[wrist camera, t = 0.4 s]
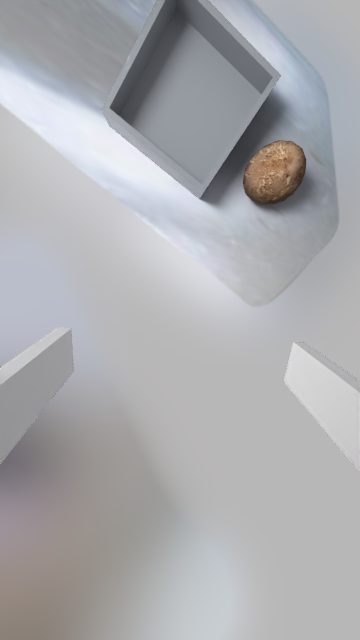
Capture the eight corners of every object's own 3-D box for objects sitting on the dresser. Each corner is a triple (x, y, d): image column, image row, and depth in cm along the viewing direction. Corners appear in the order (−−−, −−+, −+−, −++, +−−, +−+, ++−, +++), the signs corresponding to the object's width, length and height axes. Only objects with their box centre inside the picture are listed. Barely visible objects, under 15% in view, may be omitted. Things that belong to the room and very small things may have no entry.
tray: (109, 126, 32) (101, 109, 28) (174, 3, 29) (174, -34, 25) (199, 199, 35) (203, 193, 31) (267, 96, 32) (281, 75, 28)
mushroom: (270, 114, 30) (289, 131, 26) (305, 154, 34) (325, 174, 30) (226, 173, 35) (236, 194, 31) (261, 201, 39) (273, 223, 35)
